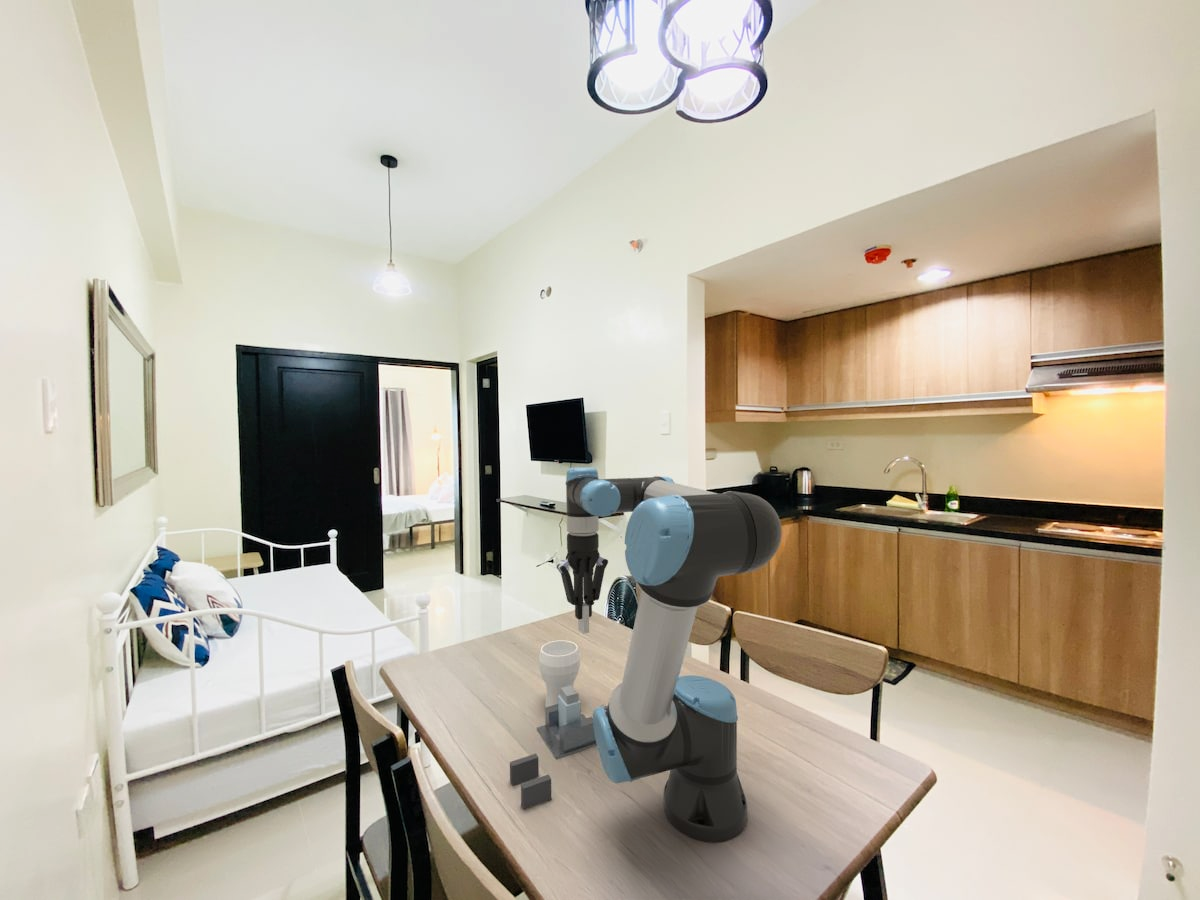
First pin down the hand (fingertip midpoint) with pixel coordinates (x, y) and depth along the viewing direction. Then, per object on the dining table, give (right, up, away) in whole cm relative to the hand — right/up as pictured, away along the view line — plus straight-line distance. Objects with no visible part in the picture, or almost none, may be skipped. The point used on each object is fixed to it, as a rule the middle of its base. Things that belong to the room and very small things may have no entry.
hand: (583, 631), depth 114 cm
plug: (-3, -23, -2) cm, 23 cm away
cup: (-6, -23, +10) cm, 26 cm away
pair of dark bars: (-10, -24, -20) cm, 32 cm away
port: (-3, -23, -3) cm, 24 cm away
